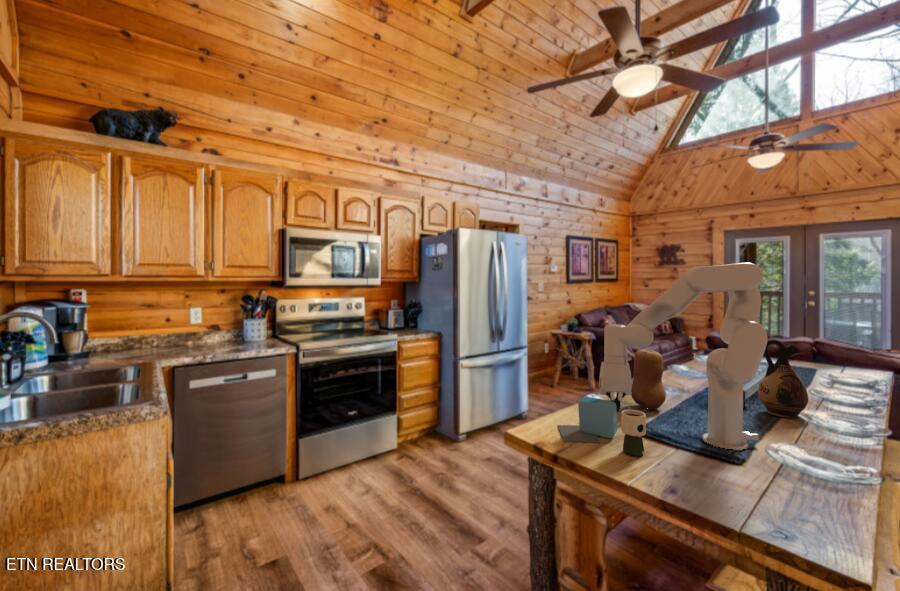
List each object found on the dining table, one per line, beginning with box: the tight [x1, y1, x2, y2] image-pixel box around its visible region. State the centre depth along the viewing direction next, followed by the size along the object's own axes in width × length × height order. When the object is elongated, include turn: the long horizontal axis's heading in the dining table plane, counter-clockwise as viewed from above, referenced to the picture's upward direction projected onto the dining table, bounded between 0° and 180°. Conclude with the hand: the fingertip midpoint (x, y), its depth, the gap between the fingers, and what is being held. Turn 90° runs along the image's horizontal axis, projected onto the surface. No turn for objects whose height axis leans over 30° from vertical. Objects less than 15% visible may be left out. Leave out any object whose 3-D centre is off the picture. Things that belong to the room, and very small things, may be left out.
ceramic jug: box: [757, 338, 809, 420], centre depth 160 cm, size 17×15×30 cm
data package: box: [577, 396, 618, 439], centre depth 142 cm, size 12×4×12 cm, turn 53°
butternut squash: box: [630, 348, 667, 410], centre depth 170 cm, size 14×13×25 cm
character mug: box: [620, 409, 647, 457], centre depth 127 cm, size 11×7×13 cm, turn 134°
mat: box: [557, 424, 601, 444], centre depth 144 cm, size 12×15×1 cm
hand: (615, 410), depth 142 cm, fingers closed
